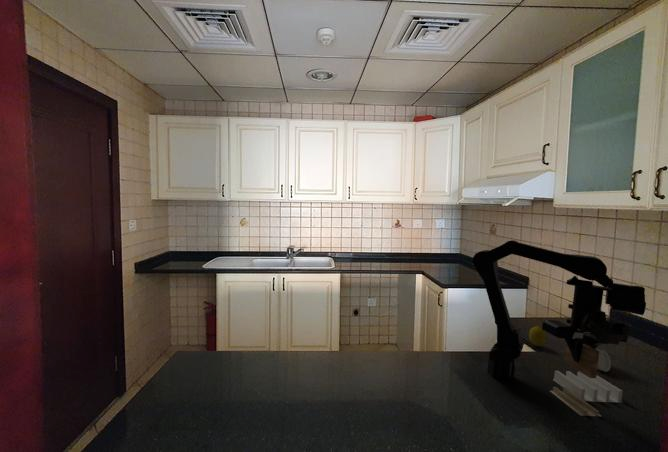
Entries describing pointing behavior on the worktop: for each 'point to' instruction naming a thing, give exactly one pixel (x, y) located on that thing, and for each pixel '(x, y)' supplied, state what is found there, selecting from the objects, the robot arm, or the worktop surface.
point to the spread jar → (603, 360)
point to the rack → (589, 387)
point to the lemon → (537, 336)
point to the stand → (575, 402)
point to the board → (584, 360)
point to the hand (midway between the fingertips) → (579, 361)
